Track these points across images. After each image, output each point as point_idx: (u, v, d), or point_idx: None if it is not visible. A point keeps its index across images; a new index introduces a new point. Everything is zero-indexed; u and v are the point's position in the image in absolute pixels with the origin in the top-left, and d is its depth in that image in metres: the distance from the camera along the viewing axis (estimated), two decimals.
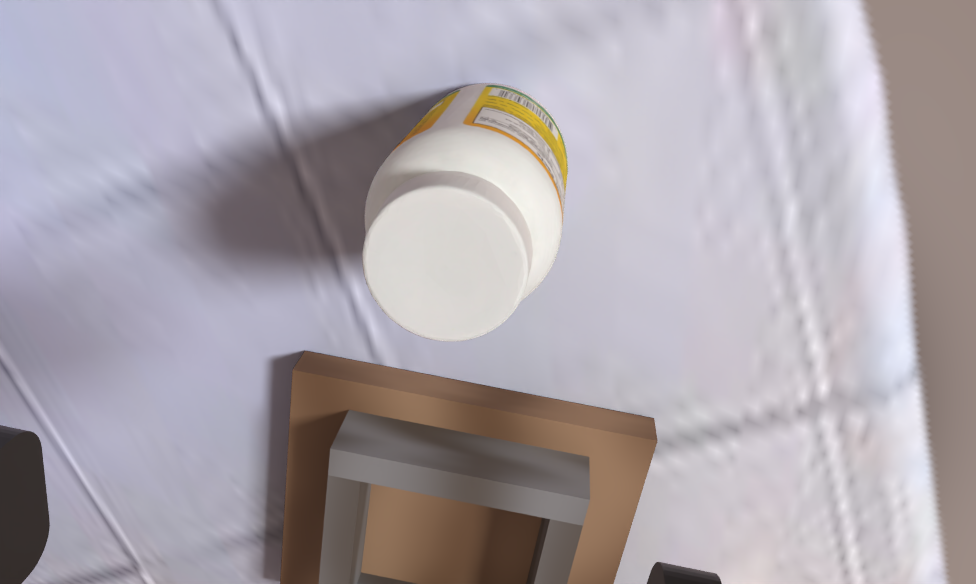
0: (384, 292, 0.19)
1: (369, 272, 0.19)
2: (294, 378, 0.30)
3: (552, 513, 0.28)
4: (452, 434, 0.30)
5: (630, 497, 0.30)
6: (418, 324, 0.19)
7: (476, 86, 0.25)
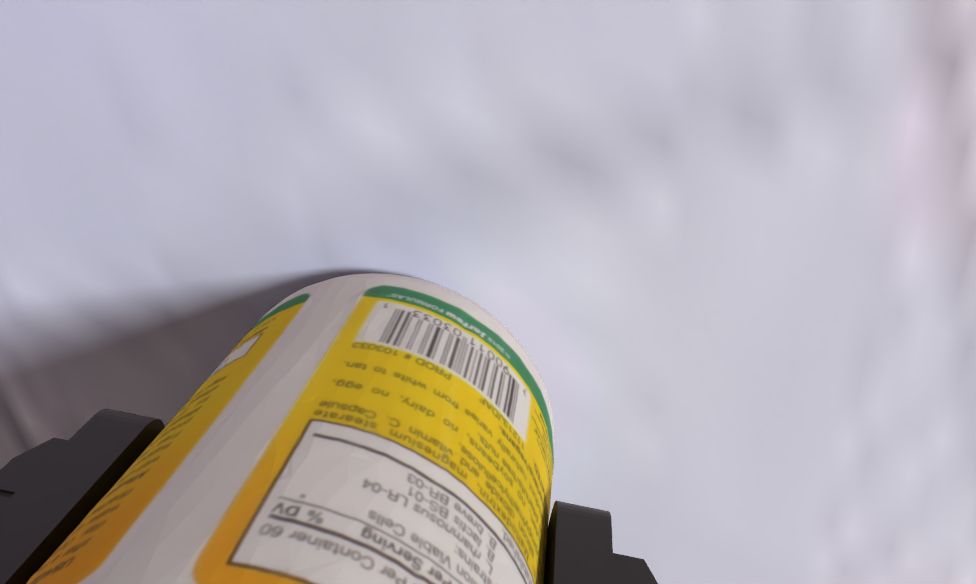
0: None
1: None
2: None
3: None
4: None
5: None
6: None
7: (344, 290, 0.11)
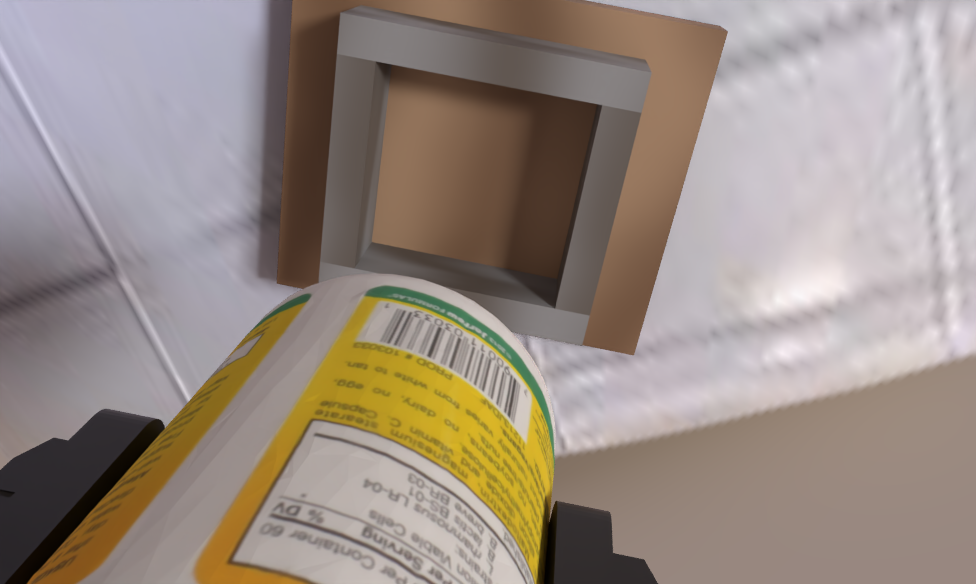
0: None
1: None
2: None
3: (605, 95, 0.23)
4: (483, 29, 0.25)
5: (691, 116, 0.26)
6: None
7: (346, 290, 0.11)
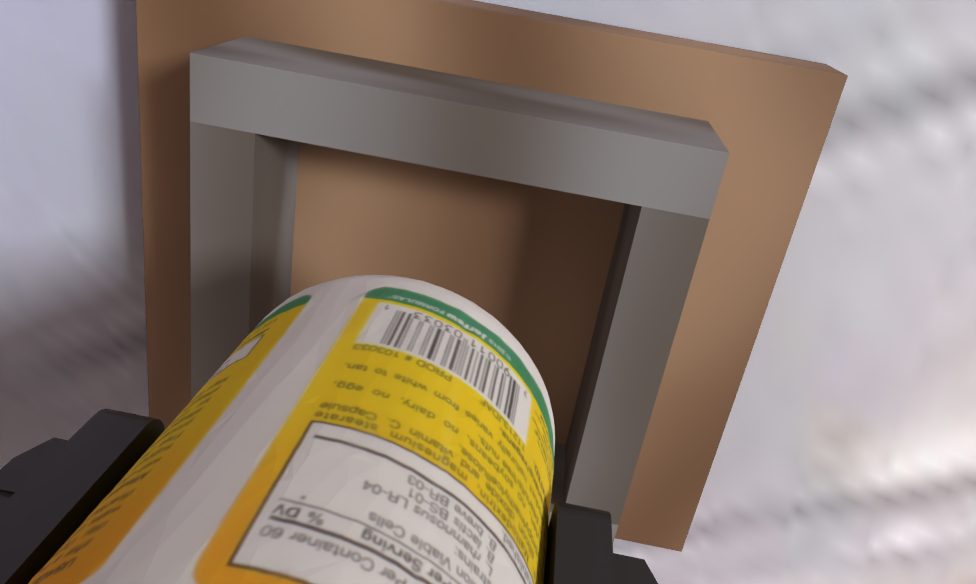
0: None
1: None
2: None
3: (647, 191, 0.14)
4: (443, 74, 0.15)
5: (782, 210, 0.16)
6: None
7: (345, 292, 0.11)
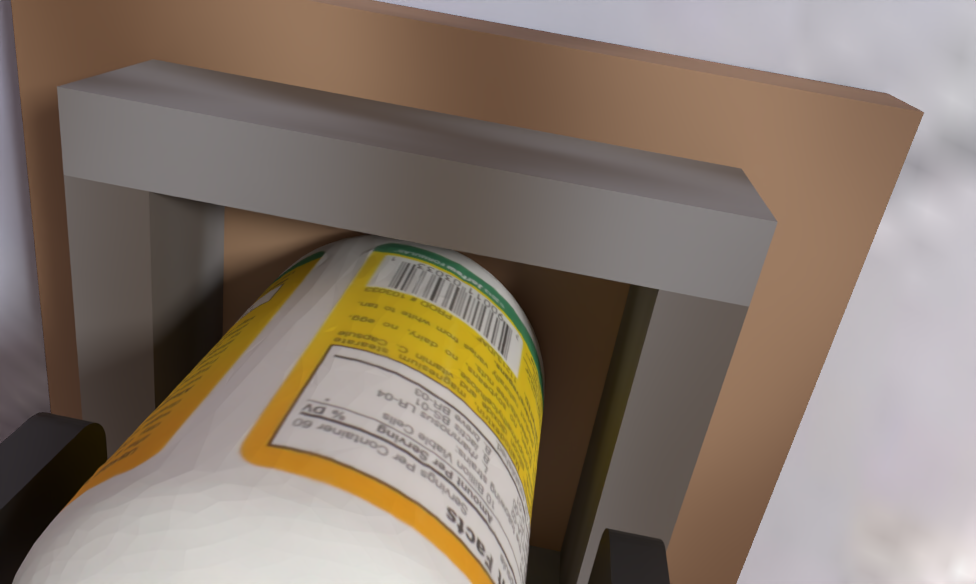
0: None
1: None
2: None
3: (667, 270, 0.10)
4: (402, 109, 0.12)
5: (833, 280, 0.13)
6: None
7: (356, 247, 0.12)
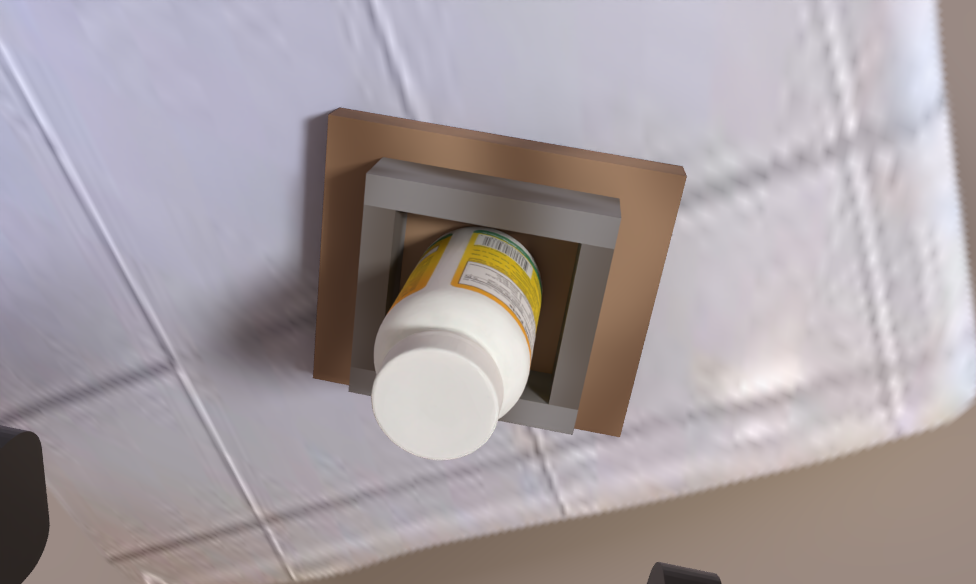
0: (388, 423, 0.24)
1: (376, 409, 0.24)
2: (330, 124, 0.31)
3: (584, 236, 0.28)
4: (484, 176, 0.30)
5: (660, 243, 0.31)
6: (415, 447, 0.24)
7: (465, 231, 0.31)
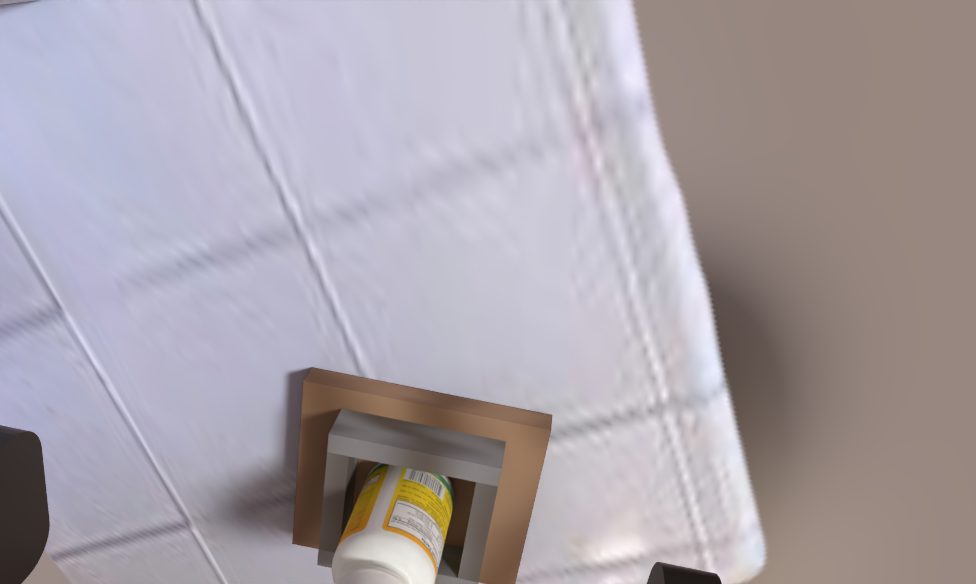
0: None
1: None
2: (304, 386, 0.44)
3: (477, 478, 0.42)
4: (412, 425, 0.44)
5: (535, 469, 0.44)
6: None
7: None
